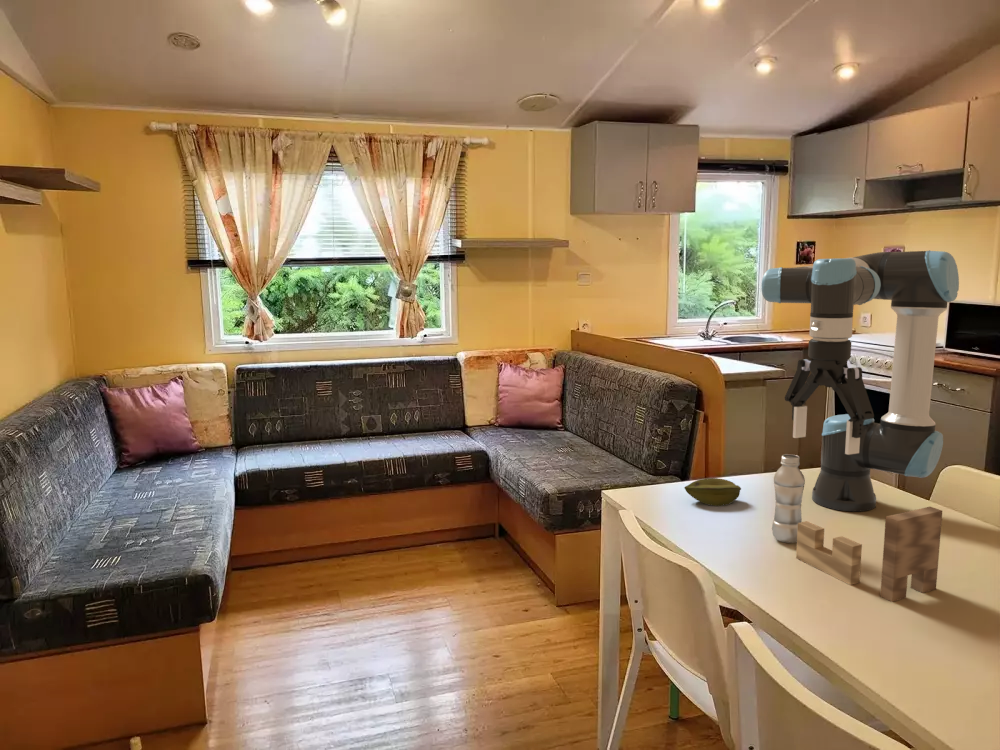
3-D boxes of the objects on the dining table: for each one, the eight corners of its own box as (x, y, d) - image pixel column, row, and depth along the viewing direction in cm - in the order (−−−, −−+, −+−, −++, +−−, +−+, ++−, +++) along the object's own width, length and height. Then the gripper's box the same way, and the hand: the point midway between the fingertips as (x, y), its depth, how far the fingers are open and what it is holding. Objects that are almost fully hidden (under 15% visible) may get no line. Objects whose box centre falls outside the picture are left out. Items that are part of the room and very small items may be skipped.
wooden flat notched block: (924, 583, 140) (930, 506, 137) (936, 589, 137) (942, 510, 135) (880, 596, 135) (885, 516, 132) (891, 601, 133) (897, 520, 130)
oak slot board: (804, 556, 154) (806, 521, 152) (859, 582, 141) (861, 544, 139) (796, 558, 153) (797, 522, 151) (850, 585, 140) (852, 546, 139)
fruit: (725, 513, 180) (726, 488, 179) (682, 503, 188) (683, 479, 187) (743, 501, 189) (744, 477, 187) (701, 492, 196) (702, 469, 195)
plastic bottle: (805, 547, 158) (809, 460, 155) (773, 545, 159) (777, 459, 156) (799, 536, 164) (803, 452, 161) (768, 534, 166) (772, 452, 162)
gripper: (769, 334, 147) (765, 432, 151) (868, 347, 124) (861, 463, 128) (798, 331, 150) (793, 429, 153) (900, 344, 127) (892, 458, 130)
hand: (824, 445), depth 140 cm, fingers open, 13 cm apart
